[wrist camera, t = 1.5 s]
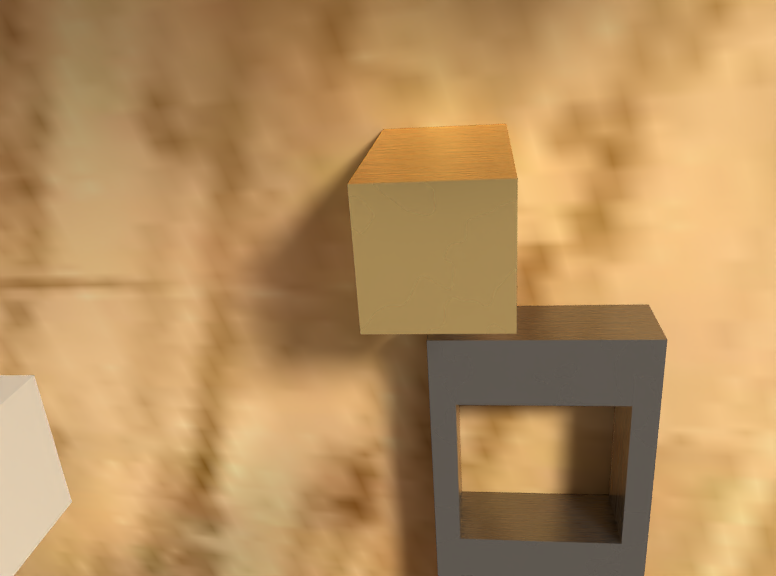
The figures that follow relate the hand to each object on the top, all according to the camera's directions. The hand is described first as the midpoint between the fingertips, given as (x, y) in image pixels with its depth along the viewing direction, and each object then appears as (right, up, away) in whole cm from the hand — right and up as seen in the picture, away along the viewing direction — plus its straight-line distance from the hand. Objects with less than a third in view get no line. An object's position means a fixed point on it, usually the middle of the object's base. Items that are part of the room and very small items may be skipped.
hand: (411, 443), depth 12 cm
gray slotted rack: (+6, -9, +21) cm, 24 cm away
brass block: (+2, +6, +15) cm, 16 cm away
